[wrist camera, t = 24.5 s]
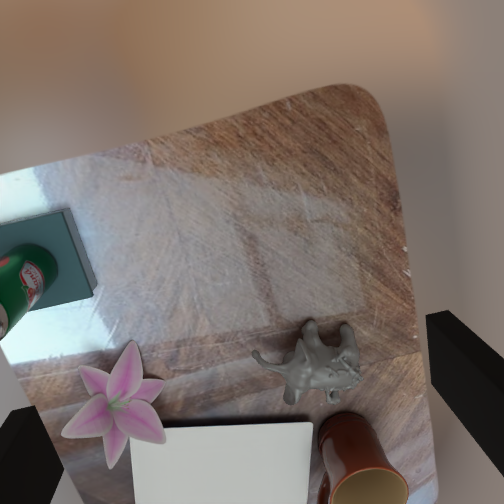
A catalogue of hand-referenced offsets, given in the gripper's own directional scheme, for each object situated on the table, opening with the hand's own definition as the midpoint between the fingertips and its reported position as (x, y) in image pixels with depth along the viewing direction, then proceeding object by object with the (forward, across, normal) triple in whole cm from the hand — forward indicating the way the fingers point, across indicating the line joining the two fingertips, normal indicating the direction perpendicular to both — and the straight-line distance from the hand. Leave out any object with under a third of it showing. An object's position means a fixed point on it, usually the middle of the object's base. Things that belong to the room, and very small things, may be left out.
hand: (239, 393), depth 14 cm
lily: (+33, -16, -19) cm, 41 cm away
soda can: (+30, -20, -2) cm, 36 cm away
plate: (+33, -9, -38) cm, 51 cm away
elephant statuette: (+33, +5, -20) cm, 39 cm away
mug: (+33, +7, -35) cm, 49 cm away
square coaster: (+33, -20, -2) cm, 38 cm away
